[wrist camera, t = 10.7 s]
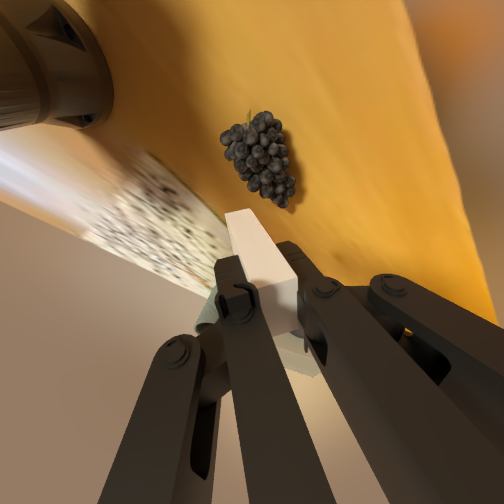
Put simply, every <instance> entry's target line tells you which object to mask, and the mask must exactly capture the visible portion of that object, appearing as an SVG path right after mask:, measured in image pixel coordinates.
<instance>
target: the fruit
mask: <svg viewBox="0 0 504 504" xmlns="http://www.w3.org/2000/svg"><path fill="white" fill-rule="evenodd" d="M250 112H251V109H249V112H248V114H247V123H244V124H242V125H240V124H235V125H233V126H232V127H231V129H230V130H226V131H225V132H223V133H222V134H221V135H220V142H221V143H222V145H224V146H227V147H228V146H229V147H228V148H227V149H226V150H225V152H224V156H225V158H226V159H227V160H228V161H231V160H234V167H235V170H236V171H237V172H239V177H240V179H241V180H243V181H248V183H247V188H248V190H249V191H251V192H256V191H258V190H259V188H260V192H259V195H260V196H261V197H262V198H270V199H271V200H272V201H273V202H274V203H277V204H278V207H280V208H286V207H287V206H288V204H289V202H288V198H287V197H291V196H293V195H294V194H295V188H294V185H295V181H296V180H295V178H294V177H293V176H292V175H290V174H289V173H288V172H287V171H288V167H289V166H290V161H289V160H288V158H287V156H288V149H287V147H286V146H285V145H284V142H285V137H284V136H283V134H282V133H279V132H281V130H282V123H281V121H280V120H278V119H273V115H272V113H271V112H269V111H264V112H260V113H258V114H257V115H256V116H255V117H254V118H253V120H252V121H251V122H250ZM263 165H264V166H265V167H263Z"/></svg>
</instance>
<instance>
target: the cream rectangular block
mask: <svg viewBox="0 0 504 504" xmlns="http://www.w3.org/2000/svg"><path fill="white" fill-rule="evenodd" d="M272 338H273V340H274V343H275V345H276V348H277V351H278V353H279V356H280V358H281V361H282V364H283V366H284V368H286V369H289V370H293V371H295V372H299V373H301V374H305V375H308V376H311V377H314V376H316V375H318V374H319V373H321V371H320V369H319V367H318V365H317V363H316V361H315V359H314V357H313V355H312V353H311V352H310V350H309V348H308V353H305V350H304V339H303V338H298V337H296V336H294V335H292V334H291V333H290V332H287V333H284V334H281V335H278V336H275V337H272Z"/></svg>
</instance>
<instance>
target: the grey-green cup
mask: <svg viewBox="0 0 504 504" xmlns="http://www.w3.org/2000/svg"><path fill="white" fill-rule="evenodd" d="M217 292H218V290H217V285H216V286H215V287H214V288H213V290H212V292H211V294H210V296H209V298H208V300H207V303H206V304H205V306H204V308H203V310H202V312H201V314H200V316H199V318H198V320H197V322H196V324H195V326H194V330H195V332H196V333H197V334H198V335H200V334H202V333H203V332H205V331H206V330H208V329H209V328H210V327H212V326H213V325H214V324H215V322H216V321H217V319H218V318H219V315H218V312H217V309H216V306H215V303H214V300H215V295H216V294H217Z"/></svg>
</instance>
